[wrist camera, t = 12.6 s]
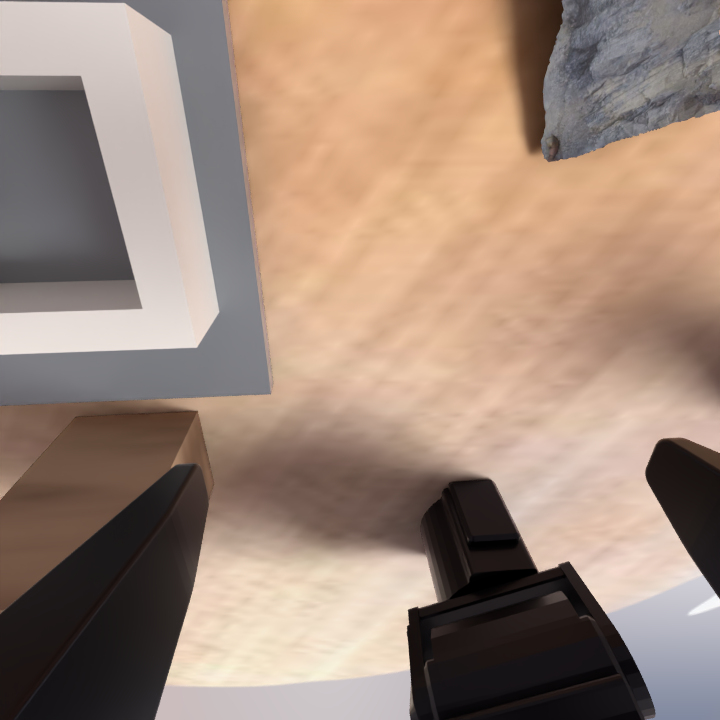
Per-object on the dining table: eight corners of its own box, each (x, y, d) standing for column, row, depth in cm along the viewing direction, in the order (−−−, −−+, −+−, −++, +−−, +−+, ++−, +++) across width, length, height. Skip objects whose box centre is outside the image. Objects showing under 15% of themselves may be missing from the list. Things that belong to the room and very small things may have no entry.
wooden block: (214, 483, 24) (147, 688, 15) (105, 490, 23) (-31, 704, 14) (197, 411, 21) (106, 602, 12) (75, 416, 21) (-107, 618, 12)
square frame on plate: (273, 383, 21) (261, 440, 17) (-22, 395, 20) (-109, 458, 16) (211, -135, 12) (156, -266, 8) (-303, -152, 12) (-635, -308, 8)
